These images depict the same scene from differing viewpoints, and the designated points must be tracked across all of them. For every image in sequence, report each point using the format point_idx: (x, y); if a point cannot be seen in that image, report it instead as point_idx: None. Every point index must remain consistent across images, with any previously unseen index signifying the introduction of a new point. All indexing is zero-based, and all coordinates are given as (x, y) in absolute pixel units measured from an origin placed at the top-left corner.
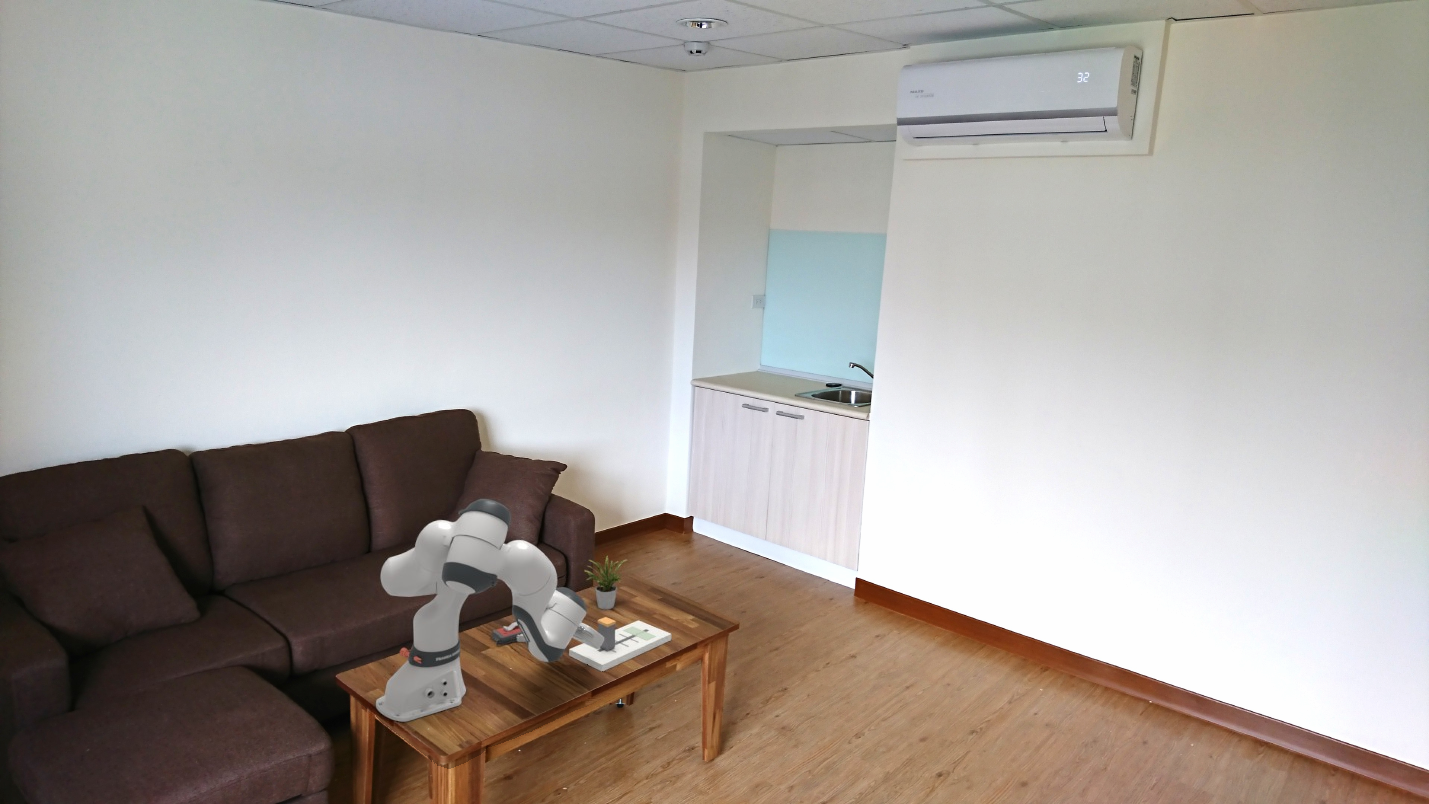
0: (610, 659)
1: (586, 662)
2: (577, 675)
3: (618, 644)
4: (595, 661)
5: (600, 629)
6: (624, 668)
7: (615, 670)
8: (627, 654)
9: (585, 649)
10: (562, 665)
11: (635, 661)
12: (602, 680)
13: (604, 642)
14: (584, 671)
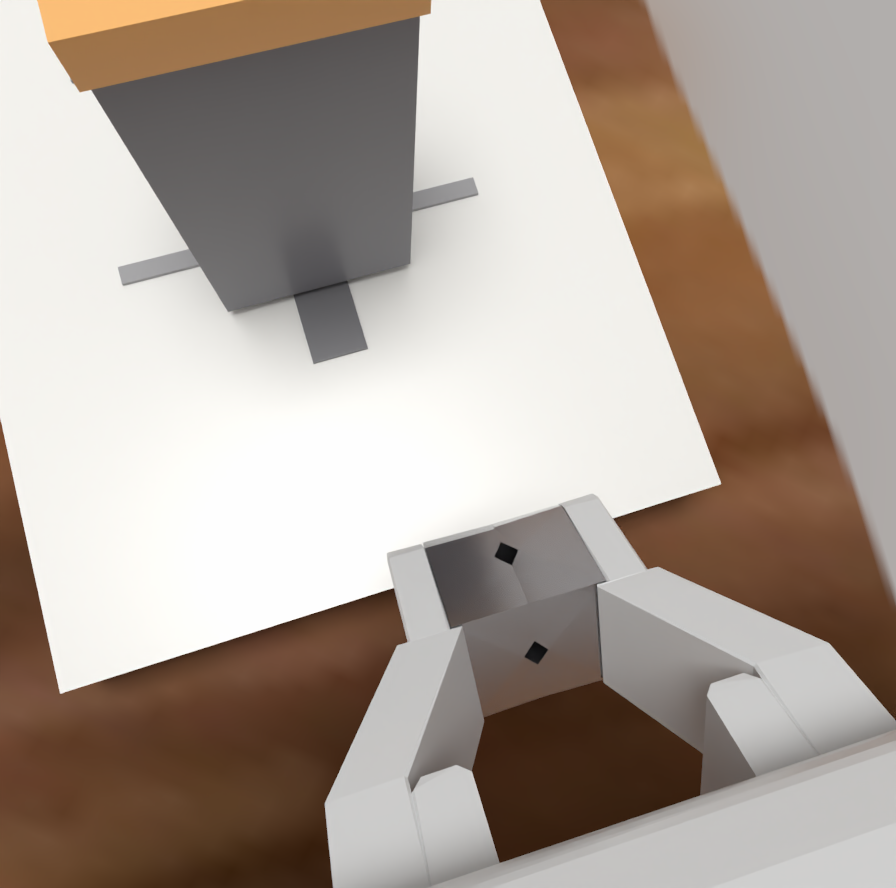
0: (626, 330)
1: None
2: (645, 802)
3: None
4: None
5: (213, 147)
6: (715, 254)
7: (717, 355)
8: (573, 100)
9: (196, 486)
10: (306, 873)
11: (619, 89)
12: (876, 584)
13: (350, 231)
14: None
